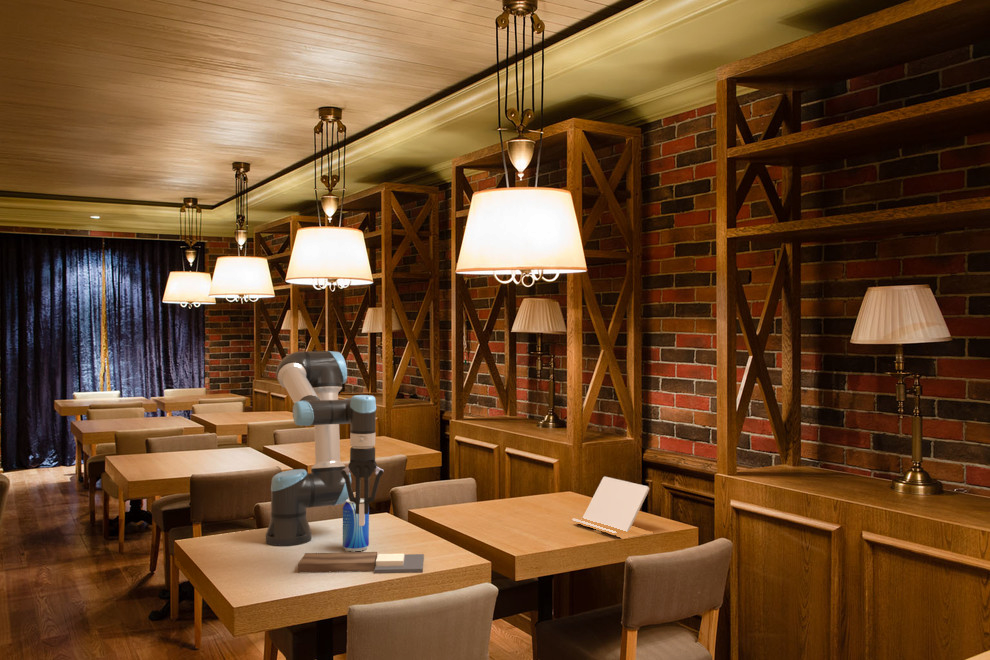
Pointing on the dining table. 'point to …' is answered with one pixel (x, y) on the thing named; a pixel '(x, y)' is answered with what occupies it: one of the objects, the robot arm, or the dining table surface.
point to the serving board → (338, 562)
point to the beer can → (354, 528)
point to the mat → (404, 565)
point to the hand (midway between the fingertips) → (361, 524)
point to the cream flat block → (390, 560)
